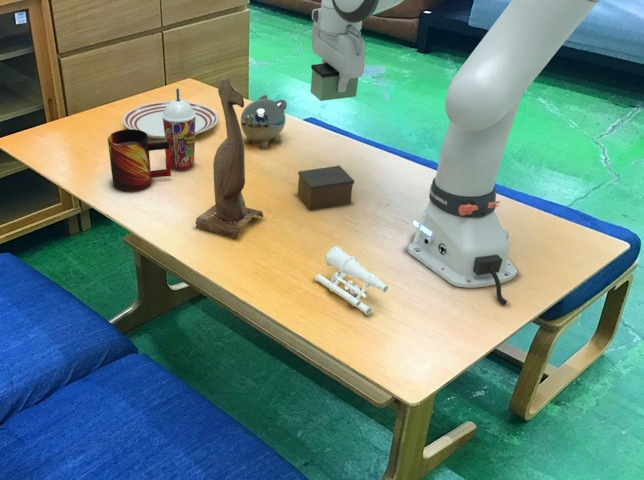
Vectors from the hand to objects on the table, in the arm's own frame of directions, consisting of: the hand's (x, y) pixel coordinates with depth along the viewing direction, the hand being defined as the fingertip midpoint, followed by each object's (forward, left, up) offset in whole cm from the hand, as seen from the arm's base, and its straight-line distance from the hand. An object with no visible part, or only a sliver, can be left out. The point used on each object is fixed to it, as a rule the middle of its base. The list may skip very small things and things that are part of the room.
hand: (333, 85), depth 151 cm
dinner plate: (+46, +29, -24) cm, 59 cm away
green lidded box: (0, 0, -2) cm, 2 cm away
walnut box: (-8, +4, -24) cm, 25 cm away
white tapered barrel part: (-45, +14, -24) cm, 53 cm away
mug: (+15, +44, -24) cm, 52 cm away
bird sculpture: (-13, +28, -24) cm, 39 cm away
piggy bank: (+28, +7, -24) cm, 37 cm away
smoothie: (+20, +32, -24) cm, 44 cm away
